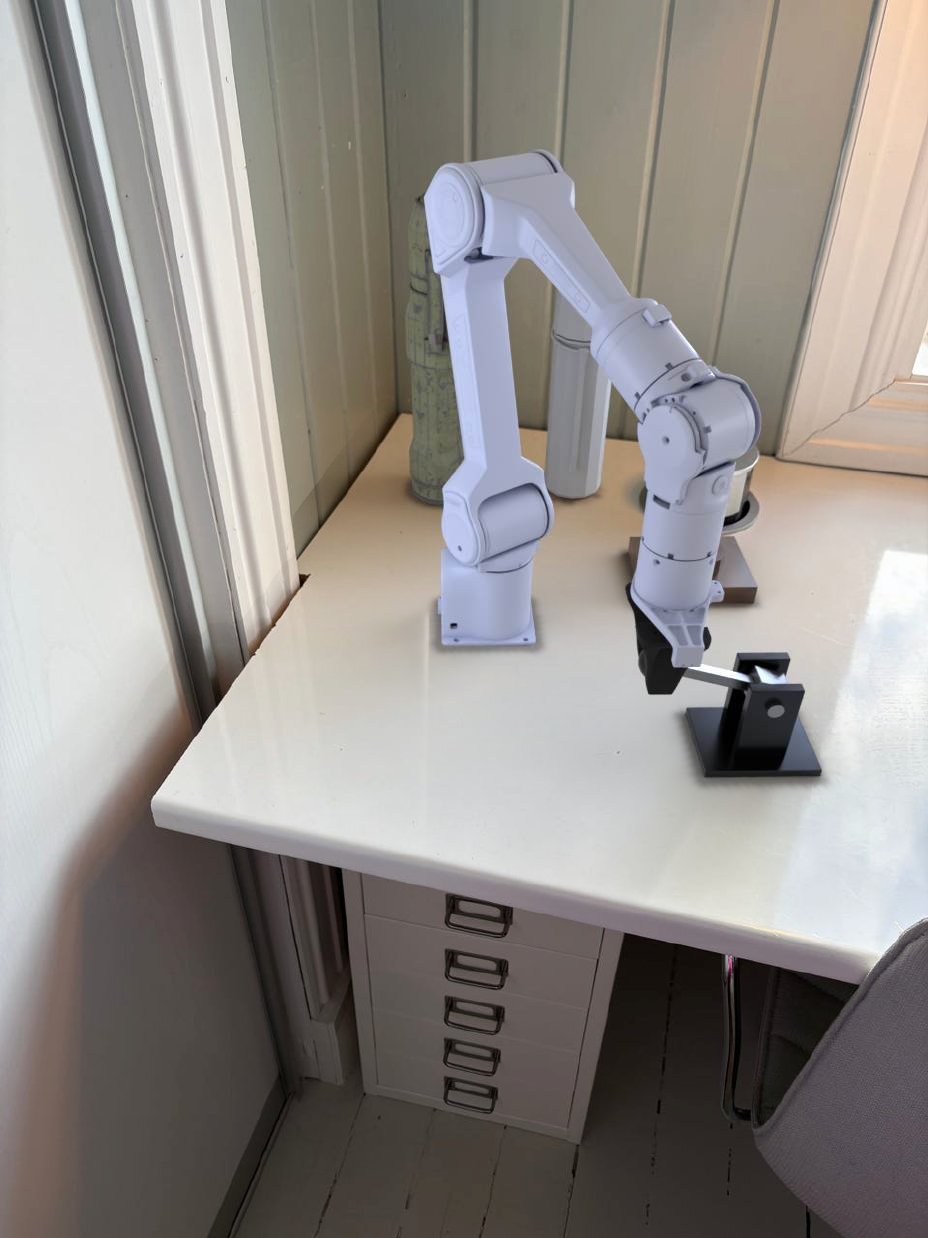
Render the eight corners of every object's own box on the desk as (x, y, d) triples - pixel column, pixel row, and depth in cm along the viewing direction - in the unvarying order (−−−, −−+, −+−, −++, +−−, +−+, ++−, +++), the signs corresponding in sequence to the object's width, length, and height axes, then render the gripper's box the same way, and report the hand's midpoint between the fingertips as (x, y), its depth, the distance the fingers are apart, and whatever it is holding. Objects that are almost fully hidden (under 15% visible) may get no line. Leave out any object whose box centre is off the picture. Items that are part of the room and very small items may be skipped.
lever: (635, 685, 76) (651, 656, 74) (629, 659, 78) (644, 631, 77) (776, 717, 78) (795, 690, 77) (766, 691, 81) (784, 664, 79)
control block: (642, 604, 99) (647, 574, 97) (627, 552, 107) (631, 523, 105) (753, 603, 99) (761, 573, 97) (730, 552, 107) (737, 522, 105)
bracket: (704, 779, 79) (722, 704, 74) (684, 715, 86) (700, 641, 80) (819, 778, 80) (846, 703, 74) (792, 714, 86) (814, 640, 81)
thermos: (481, 466, 123) (486, 182, 102) (478, 513, 114) (484, 210, 92) (414, 464, 123) (406, 180, 102) (406, 511, 114) (395, 209, 92)
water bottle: (542, 471, 122) (555, 279, 107) (602, 476, 121) (624, 282, 106) (537, 507, 115) (550, 306, 99) (601, 512, 114) (624, 310, 99)
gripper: (759, 597, 63) (724, 738, 72) (710, 490, 75) (685, 623, 83) (656, 598, 63) (633, 739, 72) (623, 491, 75) (606, 623, 83)
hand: (655, 677), depth 77 cm, fingers closed on lever, 3 cm apart
